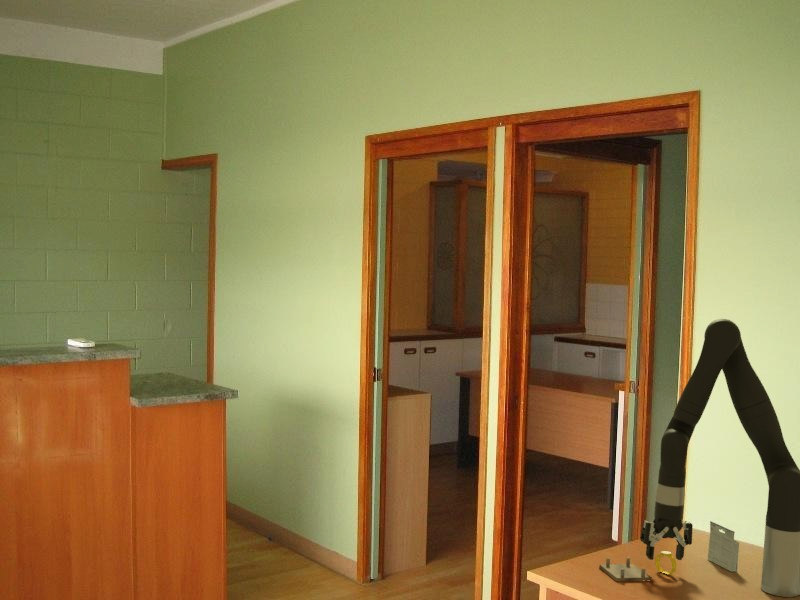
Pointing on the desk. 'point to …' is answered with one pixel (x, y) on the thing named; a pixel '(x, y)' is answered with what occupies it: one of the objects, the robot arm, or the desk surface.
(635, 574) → the pin plate
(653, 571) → the desk surface
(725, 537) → the ink box
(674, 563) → the watch
